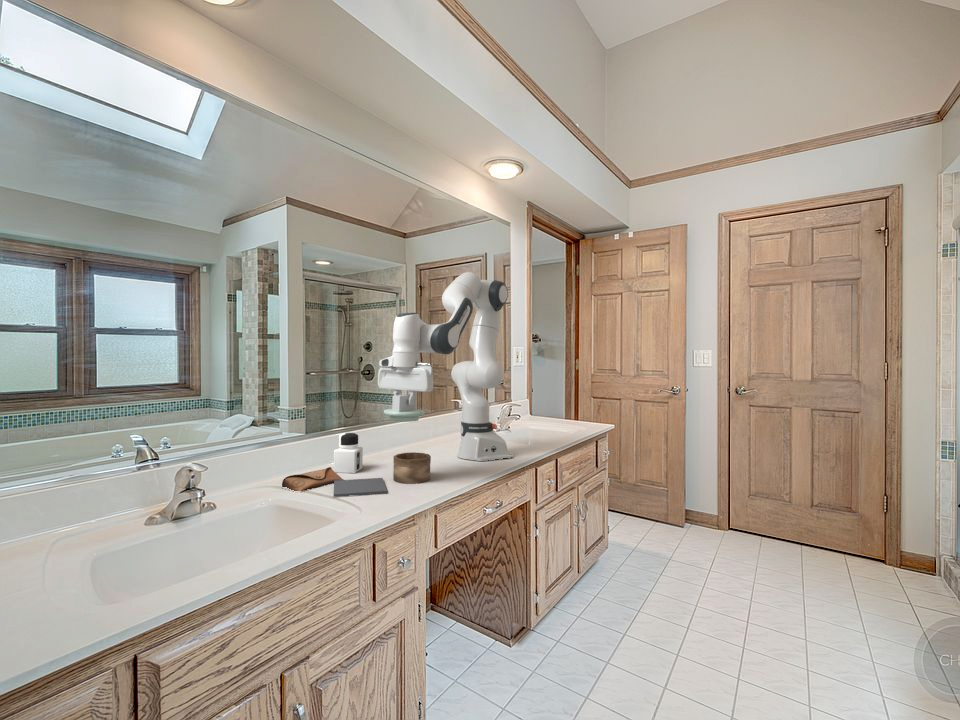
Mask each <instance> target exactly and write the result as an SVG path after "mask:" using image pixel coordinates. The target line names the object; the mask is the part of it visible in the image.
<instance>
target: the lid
mask: <svg viewBox="0 0 960 720" xmlns="http://www.w3.org/2000/svg"><path fill="white" fill-rule="evenodd" d="M410 395H411V394H409V393H408V394H400V395H395V396H394V395H392V402H391V403H392V406H391V408H387V409H383V415H385V416H387V417H388V416H389V421H392V422H399V423H400V422H401V423H405V422H406V423H408V422H409V423H410V422H418V421H419V417H422V416H425V410H424V409H418V408H417V395H416V396H415V398H414V399H413V405H407V404H406V403H407V399H409V397H410Z"/></svg>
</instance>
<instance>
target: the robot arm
mask: <svg viewBox="0 0 960 720" xmlns="http://www.w3.org/2000/svg"><path fill="white" fill-rule="evenodd" d="M508 298H509V290H508V287H507V285H506V284H505V282H503V281H501V280H489V279H481V278H480V277H479V276H478V275H477V274H476V273H474V272H471V271H466V272H463V273H461V274H460V275H458V276H457V277H456V278H455V279H454V280H453V281H451V282H450V284H448V286H447V287H446V288H445V290H444V291H443V293H442V295H441V302H442V305H443V307H444V309H445V310H446V312H447V313H449V314H450V318H449V319H448V321H447V322H443V323H439V324H436V323H435V324H427V323H426V322H424V321H423V320H422V318H420V315H419V313H417V312H404V313H403V312H402V313H399V314H397V315H395V318H394V322H393V329H392V341H393V348H392V351H391V354H392V355H391V356H388V357H385V358H383V359H380V360H379V361H378V362H379V365H378V366H379V369H378V372H377V387H378V388H379V389H380V390H382V389H383V390H393V391H392V393H393V396H395V395H401V391H408V392H409V393H408V394H411V395H410V397H409V399H407V403H406V404H407V405H413V399H414V398H415V396H416V397H417V394H418V392H423V393H429V392H432V391H433V389H434V376H433V374H434V372H433V371H434V370H433V366H432V364H430V363H429V362H422V361H420V359H421V358H420V355H421V354H420V353H427V354H442V355H450V354H452V353H453V352H455V350H456V349H457V347H458V346H459V343H460V340H461V339H460V338H461V336H462V334H463V332H464V330H465V329H466V326H467V324H468V323H469V320H470V318H471V316H472V314H473V310H474V308H476V313H475V316H474V319H473V323H472V326H471V330H470V331H471V332H470V337H469V342H468V343H469V344H468V345H469V348H471V350H472V351H473V360H464V361H460V362H458V363H455V364H454V365H453V367H452V369H451V374H450V376H451V379H452V381H453V382H454V383H455V385H456V386H457V389H458V392H459V395H460V399H461V414H462V415H461V421H460V422H461V423H460V435H461V436H460V444H459V450H458V453H457V457H458V458H460V459H464V460H470V461H471V460H472V461H477V462H487V461H488V460H489V461H496V460H495V459H499V460H504V459H503V458H508V459H512V458H511V457H514V455H513V453H512V452H510V451H508V445H507V442H506V441H505V439H504V438H502V437H501V436H500V435H499V434H498V433H497V432H495V431H494V430H497V428H498V425H497V424H496V423H493V422H490V403H489V401H488V399H486V397H485V396H484V393H483V390H488V389H494V388H497V387H499V386H500V385H501V383H502V382H503V380H504V379H503V378H504V371H503V368H502V367H501V365H500V364H499V362H498V360H497V359H498V358H497V355H496V354H497V353H496V352H497V342H498V337H499V336H498V335H499V331H500V324H501V309H502V308H503V307H504V306H505V304H506V303H507V301H508Z"/></svg>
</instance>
